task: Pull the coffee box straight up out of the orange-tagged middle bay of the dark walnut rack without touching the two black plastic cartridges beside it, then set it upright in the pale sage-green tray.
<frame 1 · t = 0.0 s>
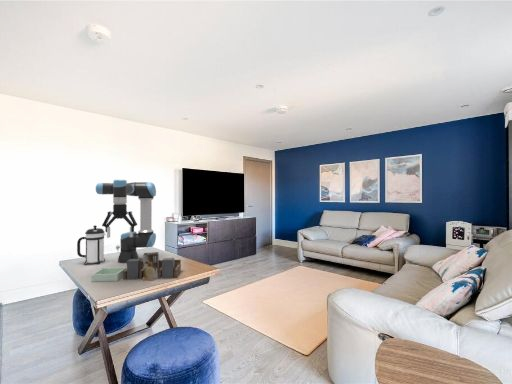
hand: (119, 237, 158), 28 cm above the table, fingers open, 13 cm apart
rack: (151, 277, 165), on the table
cartridge 2: (168, 276, 166), on the table
tray: (109, 277, 164), on the table
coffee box: (151, 277, 165), on the table
cartridge 1: (133, 278, 164), on the table
coffee press: (92, 263, 197), on the table
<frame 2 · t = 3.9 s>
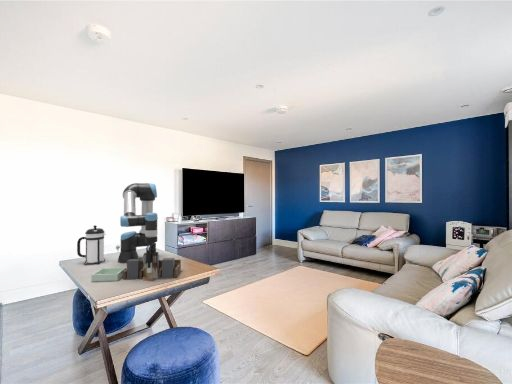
hand: (151, 270, 165), 5 cm above the table, fingers closed on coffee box, 7 cm apart
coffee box: (151, 277, 165), on the table, touching gripper
everything else where it was.
when the fingers open (7 cm above the table, at t = 14.1 s): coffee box drops 2 cm, resting on tray.
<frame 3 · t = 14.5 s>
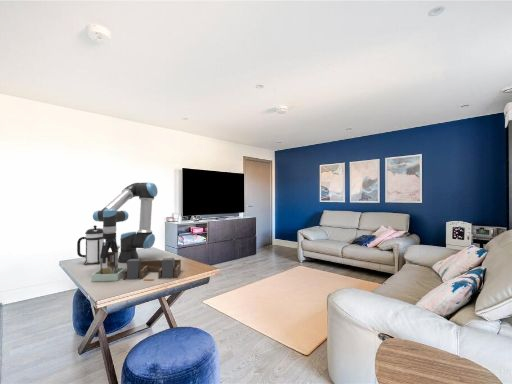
hand: (109, 265, 164), 8 cm above the table, fingers open, 12 cm apart
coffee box: (109, 277, 164), resting on tray
everything else where it was.
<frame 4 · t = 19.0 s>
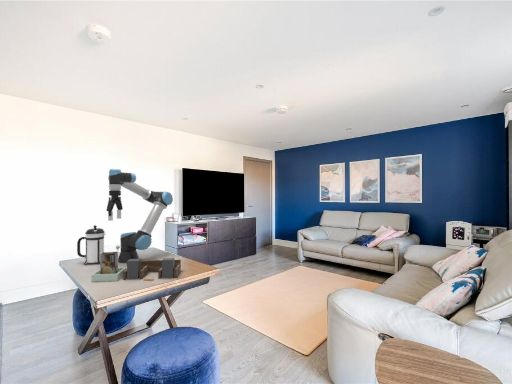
hand: (114, 219, 180), 37 cm above the table, fingers open, 13 cm apart
nothing on the table moved.
at the end: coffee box inside the target area on the tray (0.2 cm from its centre), point 0.4 cm above the tray's base; cartridge 2 moved 0.0 cm from its start; cartridge 1 moved 0.0 cm from its start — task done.
